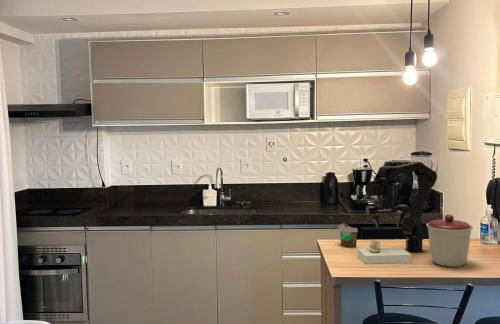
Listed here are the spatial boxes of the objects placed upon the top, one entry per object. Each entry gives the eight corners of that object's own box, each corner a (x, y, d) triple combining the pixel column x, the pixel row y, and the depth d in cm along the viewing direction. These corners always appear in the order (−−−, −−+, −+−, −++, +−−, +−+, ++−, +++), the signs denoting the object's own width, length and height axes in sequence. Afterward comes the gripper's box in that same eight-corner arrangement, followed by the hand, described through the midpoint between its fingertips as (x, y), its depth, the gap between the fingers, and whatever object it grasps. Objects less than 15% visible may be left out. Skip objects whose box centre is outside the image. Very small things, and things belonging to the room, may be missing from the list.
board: (401, 255, 206) (401, 247, 205) (411, 262, 194) (411, 254, 193) (357, 256, 205) (357, 248, 205) (365, 263, 193) (365, 255, 193)
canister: (444, 271, 180) (444, 220, 179) (417, 259, 198) (417, 212, 196) (482, 268, 184) (483, 217, 183) (452, 256, 202) (453, 210, 201)
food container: (333, 243, 229) (333, 224, 228) (344, 242, 231) (344, 223, 230) (347, 249, 217) (347, 229, 217) (357, 248, 219) (357, 227, 219)
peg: (378, 255, 202) (378, 240, 201) (381, 258, 197) (381, 242, 196) (367, 256, 202) (367, 240, 201) (371, 258, 197) (371, 243, 196)
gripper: (400, 190, 212) (401, 223, 214) (361, 192, 212) (362, 225, 213) (410, 194, 201) (410, 228, 202) (369, 196, 201) (369, 230, 202)
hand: (388, 228), depth 205 cm, fingers open, 9 cm apart
